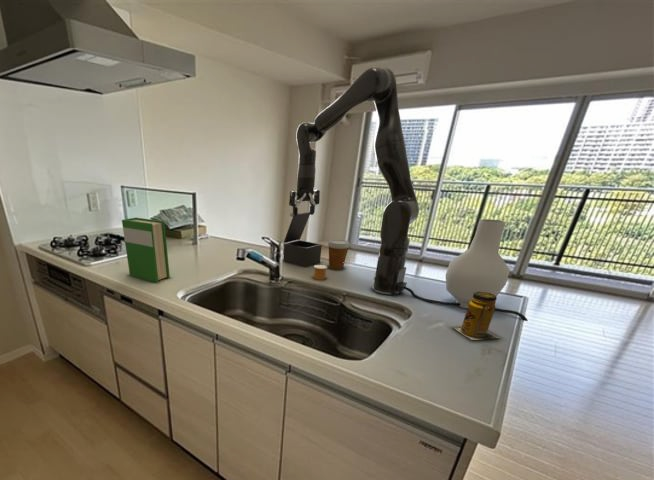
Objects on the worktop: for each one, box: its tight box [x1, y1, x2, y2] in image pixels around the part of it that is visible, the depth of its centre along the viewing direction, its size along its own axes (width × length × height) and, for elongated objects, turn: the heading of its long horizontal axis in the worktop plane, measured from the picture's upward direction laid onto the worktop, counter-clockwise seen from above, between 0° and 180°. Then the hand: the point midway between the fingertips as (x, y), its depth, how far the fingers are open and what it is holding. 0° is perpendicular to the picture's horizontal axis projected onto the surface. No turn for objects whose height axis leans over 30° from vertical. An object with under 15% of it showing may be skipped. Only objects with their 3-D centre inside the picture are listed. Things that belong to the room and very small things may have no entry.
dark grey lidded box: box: [282, 239, 323, 268], centre depth 163 cm, size 14×12×9 cm
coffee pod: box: [313, 264, 328, 281], centre depth 142 cm, size 5×5×5 cm
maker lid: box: [283, 211, 310, 243], centre depth 163 cm, size 14×12×5 cm
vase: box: [445, 218, 511, 309], centre depth 109 cm, size 17×16×28 cm
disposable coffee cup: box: [327, 239, 351, 270], centre depth 153 cm, size 10×10×12 cm
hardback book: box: [121, 217, 171, 284], centre depth 143 cm, size 18×7×24 cm, turn 53°
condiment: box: [453, 292, 501, 341], centre depth 94 cm, size 7×8×12 cm
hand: (303, 215), depth 151 cm, fingers open, 8 cm apart
